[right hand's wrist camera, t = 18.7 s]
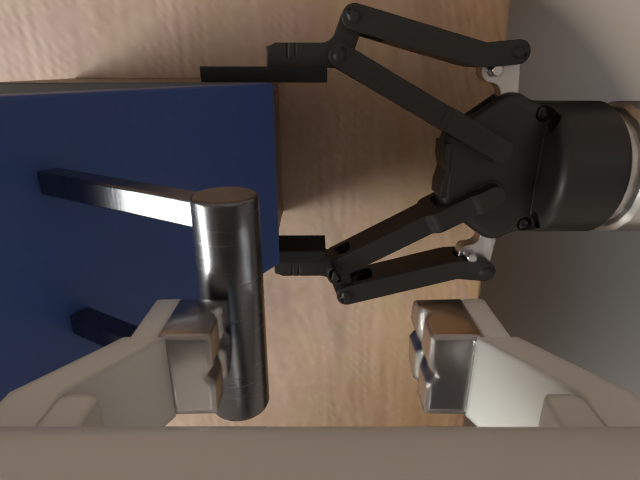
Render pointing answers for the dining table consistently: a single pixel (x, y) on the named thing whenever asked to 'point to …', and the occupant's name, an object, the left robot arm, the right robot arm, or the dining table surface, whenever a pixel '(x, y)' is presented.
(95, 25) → the dining table surface
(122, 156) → the lid
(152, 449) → the right robot arm
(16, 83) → the chest
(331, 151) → the dining table surface
